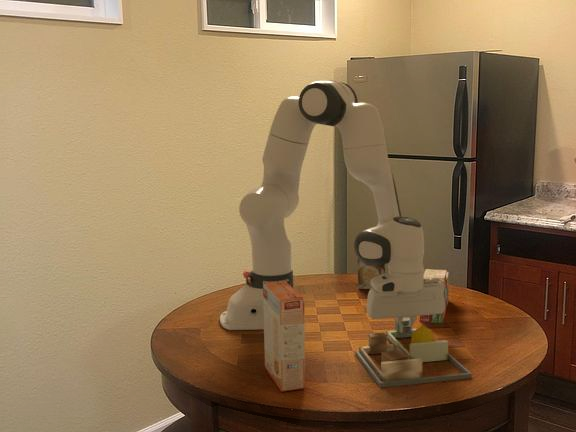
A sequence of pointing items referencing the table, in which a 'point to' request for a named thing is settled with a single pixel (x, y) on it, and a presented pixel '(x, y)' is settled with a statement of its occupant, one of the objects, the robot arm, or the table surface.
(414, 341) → the fruit
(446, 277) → the stack of blocks
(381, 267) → the coffee box
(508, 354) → the table surface
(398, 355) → the walnut cube
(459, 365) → the lane guides
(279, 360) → the cracker box
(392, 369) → the frame
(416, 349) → the frame
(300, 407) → the table surface
